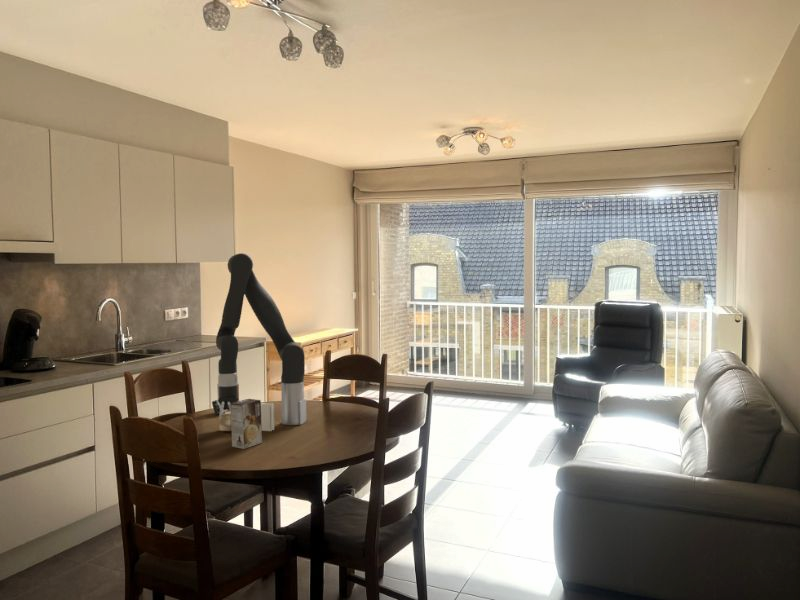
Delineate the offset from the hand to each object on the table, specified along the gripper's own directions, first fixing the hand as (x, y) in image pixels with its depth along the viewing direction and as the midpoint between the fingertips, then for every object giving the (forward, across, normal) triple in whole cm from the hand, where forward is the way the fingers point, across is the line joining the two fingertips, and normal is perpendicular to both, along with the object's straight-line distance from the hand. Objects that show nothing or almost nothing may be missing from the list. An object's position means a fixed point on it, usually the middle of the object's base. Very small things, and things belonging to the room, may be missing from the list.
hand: (229, 426), depth 246 cm
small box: (+2, +18, -30) cm, 35 cm away
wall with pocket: (+2, -13, -3) cm, 13 cm away
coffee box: (+2, -18, +18) cm, 25 cm away
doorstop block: (+1, 0, 0) cm, 1 cm away
